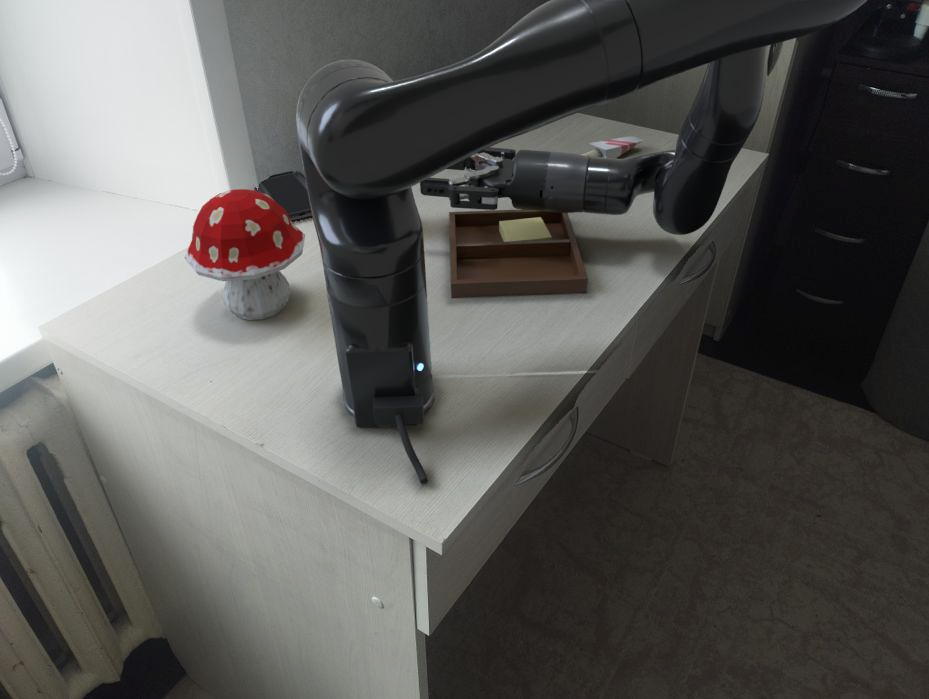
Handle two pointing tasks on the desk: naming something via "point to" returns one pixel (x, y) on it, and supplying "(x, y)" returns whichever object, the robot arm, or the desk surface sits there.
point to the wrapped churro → (612, 147)
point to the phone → (288, 193)
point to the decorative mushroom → (246, 250)
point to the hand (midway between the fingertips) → (429, 172)
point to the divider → (513, 249)
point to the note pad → (524, 230)
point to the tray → (513, 258)
